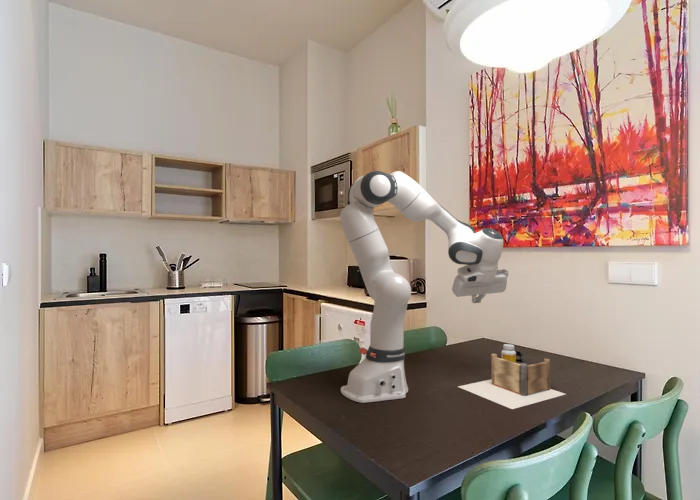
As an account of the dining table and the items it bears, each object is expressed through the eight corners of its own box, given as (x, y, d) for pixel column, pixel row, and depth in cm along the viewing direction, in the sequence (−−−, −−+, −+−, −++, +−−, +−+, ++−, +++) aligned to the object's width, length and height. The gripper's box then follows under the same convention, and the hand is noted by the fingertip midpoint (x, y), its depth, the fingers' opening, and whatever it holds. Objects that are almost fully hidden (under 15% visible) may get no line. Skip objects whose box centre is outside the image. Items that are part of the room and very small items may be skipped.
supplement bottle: (499, 367, 160) (499, 343, 160) (512, 367, 161) (512, 343, 161) (504, 371, 155) (504, 346, 155) (518, 371, 155) (518, 346, 155)
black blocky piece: (534, 362, 171) (534, 351, 171) (529, 365, 165) (529, 354, 166) (504, 356, 179) (504, 346, 179) (499, 360, 173) (499, 349, 173)
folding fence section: (490, 382, 139) (490, 354, 139) (493, 382, 140) (494, 353, 140) (518, 393, 129) (518, 362, 129) (522, 392, 130) (522, 361, 130)
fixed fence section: (524, 396, 128) (524, 364, 128) (519, 394, 129) (519, 363, 129) (551, 389, 134) (551, 359, 134) (546, 387, 136) (546, 358, 136)
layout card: (512, 410, 117) (512, 409, 117) (457, 387, 136) (457, 386, 136) (566, 395, 130) (566, 394, 130) (509, 376, 149) (509, 375, 149)
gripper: (504, 264, 150) (496, 294, 157) (453, 269, 146) (447, 299, 153) (514, 273, 145) (505, 304, 152) (461, 278, 141) (454, 310, 148)
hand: (475, 302), depth 153 cm, fingers closed
